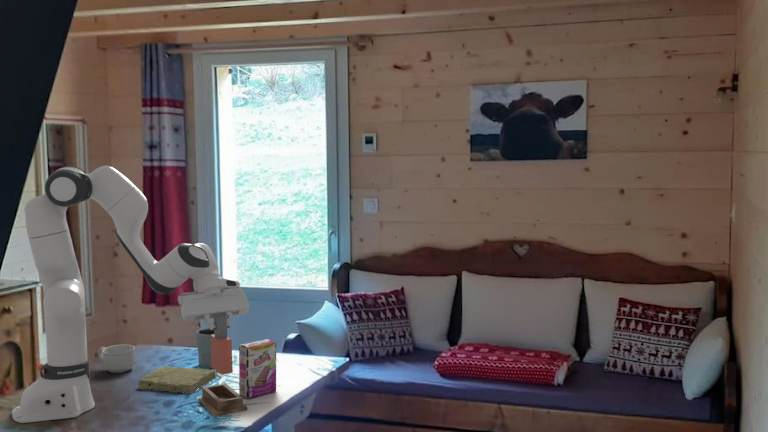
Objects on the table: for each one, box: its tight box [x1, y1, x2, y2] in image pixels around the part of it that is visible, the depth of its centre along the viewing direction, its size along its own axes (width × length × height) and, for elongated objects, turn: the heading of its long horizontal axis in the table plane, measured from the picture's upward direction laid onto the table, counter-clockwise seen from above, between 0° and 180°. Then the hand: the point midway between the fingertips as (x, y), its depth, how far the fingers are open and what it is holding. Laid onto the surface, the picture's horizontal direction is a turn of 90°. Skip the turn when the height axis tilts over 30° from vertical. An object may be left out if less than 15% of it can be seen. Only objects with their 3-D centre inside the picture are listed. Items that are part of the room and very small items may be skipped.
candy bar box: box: [238, 338, 277, 400], centre depth 239 cm, size 11×5×16 cm, turn 134°
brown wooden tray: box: [197, 383, 248, 417], centre depth 229 cm, size 10×16×4 cm, turn 30°
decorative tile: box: [137, 366, 217, 394], centre depth 252 cm, size 19×20×4 cm
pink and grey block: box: [211, 316, 234, 375], centre depth 228 cm, size 4×9×16 cm, turn 30°
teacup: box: [97, 343, 136, 374], centre depth 267 cm, size 14×11×8 cm
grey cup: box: [196, 327, 214, 368], centre depth 273 cm, size 10×10×12 cm
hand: (221, 327), depth 227 cm, fingers closed on pink and grey block, 3 cm apart
